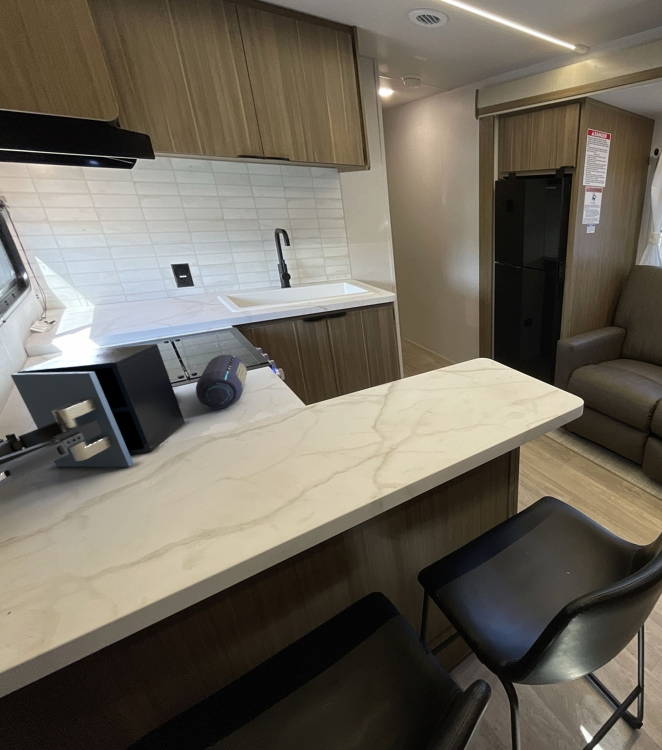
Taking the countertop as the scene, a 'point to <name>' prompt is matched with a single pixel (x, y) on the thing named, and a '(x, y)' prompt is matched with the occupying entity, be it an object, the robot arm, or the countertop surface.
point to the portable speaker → (221, 382)
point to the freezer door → (75, 415)
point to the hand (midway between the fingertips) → (81, 426)
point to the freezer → (129, 390)
